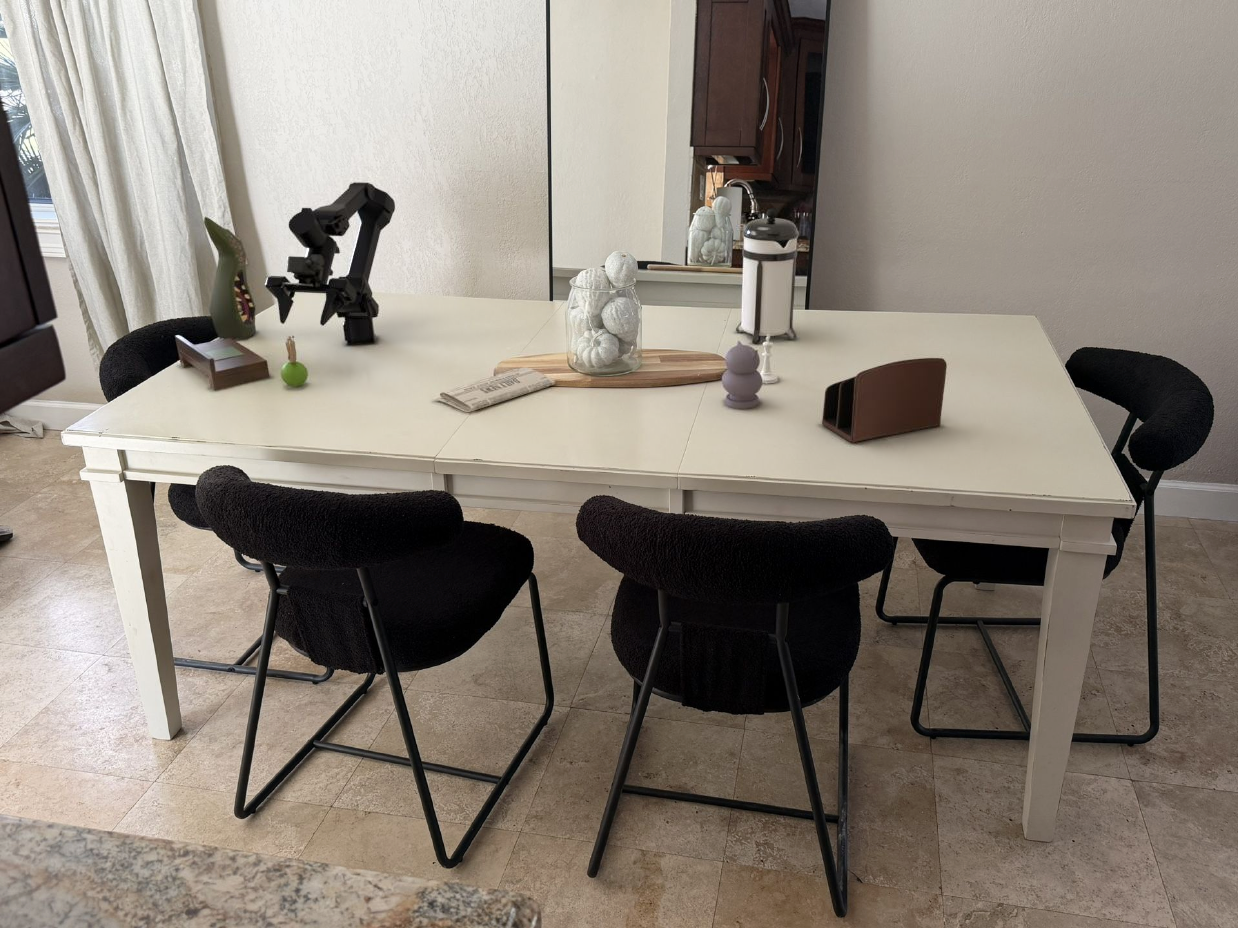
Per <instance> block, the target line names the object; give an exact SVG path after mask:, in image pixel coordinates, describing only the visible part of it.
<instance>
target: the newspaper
mask: <svg viewBox="0 0 1238 928" xmlns="http://www.w3.org/2000/svg"><path fill="white" fill-rule="evenodd" d="M555 385H556V381H555V380H554V379H553V378H551V377H549V376H547V375H545V374H544V373H541V372H540V371H537V370H534V369H532V368H530V367H526V366H524V367H520V368H513V369H511V370H507V371H505V372H502V373H498V374H497V375H494V376H490V377H488V378H484V379H481V380H478V381H476V382H472V383H468V384H466V385H461V386H459V387H455V388H452V389H449V390H446V391H442V392H441V393H439V397H441V398H439V399H436V400H435V401H436V402H437V401H440V402H443V403H446V404H448V405H450V406H452V407H454V408H456V409H457V410H460V411H463V412H465V413H471V412H473V411H477V410H480V409H483V408H486V407H490V406H493V405H496V404H498V403H499V404H500V403H502V402H505V401H508V400H511V399H515V398H517V397H521V396H524V395H527V394H530V393H533V392H536V391H539V390H542V389H545V388H549V387H552V386H555Z"/></svg>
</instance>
